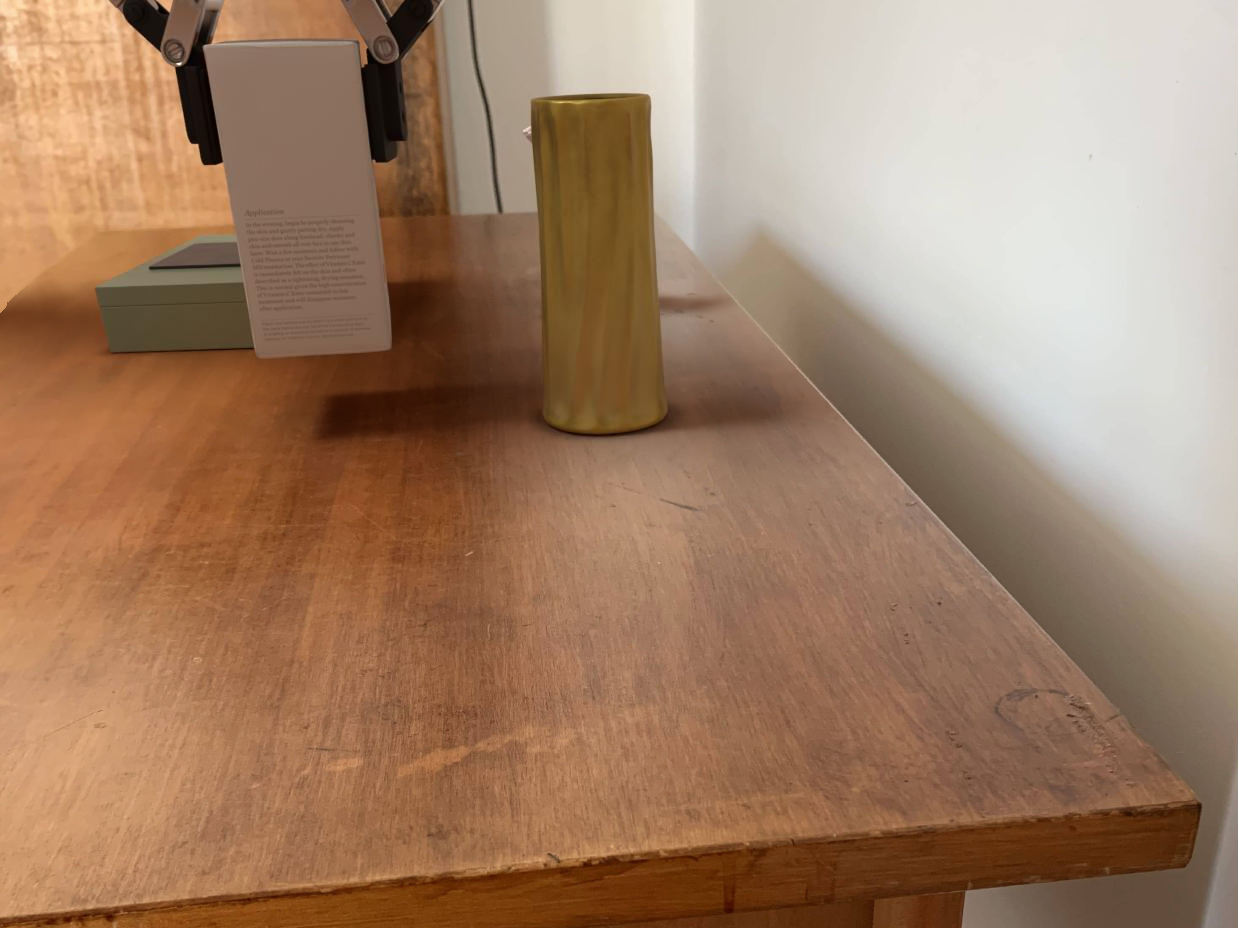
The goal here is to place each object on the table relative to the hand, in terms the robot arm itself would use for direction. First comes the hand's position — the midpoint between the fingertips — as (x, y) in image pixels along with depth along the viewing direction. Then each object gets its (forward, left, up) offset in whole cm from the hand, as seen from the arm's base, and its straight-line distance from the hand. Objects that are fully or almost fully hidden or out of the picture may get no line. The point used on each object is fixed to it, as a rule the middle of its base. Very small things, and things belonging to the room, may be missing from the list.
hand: (302, 157), depth 54 cm
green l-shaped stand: (-12, +25, -12) cm, 30 cm away
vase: (+13, -2, -12) cm, 18 cm away
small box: (0, 0, -8) cm, 8 cm away
